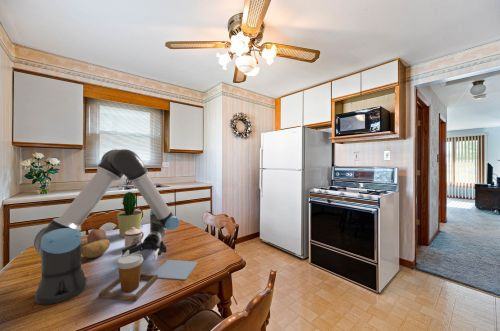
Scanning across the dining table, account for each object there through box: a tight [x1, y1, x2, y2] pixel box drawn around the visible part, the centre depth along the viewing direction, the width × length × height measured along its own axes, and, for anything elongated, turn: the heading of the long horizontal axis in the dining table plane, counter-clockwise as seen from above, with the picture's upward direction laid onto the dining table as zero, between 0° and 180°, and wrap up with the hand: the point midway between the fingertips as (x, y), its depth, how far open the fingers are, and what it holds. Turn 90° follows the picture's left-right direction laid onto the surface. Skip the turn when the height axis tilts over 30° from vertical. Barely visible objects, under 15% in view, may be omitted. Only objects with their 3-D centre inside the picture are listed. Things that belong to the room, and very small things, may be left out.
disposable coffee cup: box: [116, 253, 144, 293], centre depth 87 cm, size 10×10×12 cm
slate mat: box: [153, 259, 199, 281], centre depth 102 cm, size 16×16×1 cm
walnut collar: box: [98, 272, 159, 302], centre depth 87 cm, size 15×15×2 cm
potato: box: [81, 238, 111, 259], centre depth 115 cm, size 10×14×8 cm
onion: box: [86, 228, 107, 244], centre depth 131 cm, size 10×9×10 cm
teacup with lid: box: [124, 227, 145, 248], centre depth 128 cm, size 12×9×12 cm
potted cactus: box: [116, 191, 143, 238], centre depth 148 cm, size 15×15×30 cm
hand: (138, 258), depth 97 cm, fingers open, 13 cm apart
